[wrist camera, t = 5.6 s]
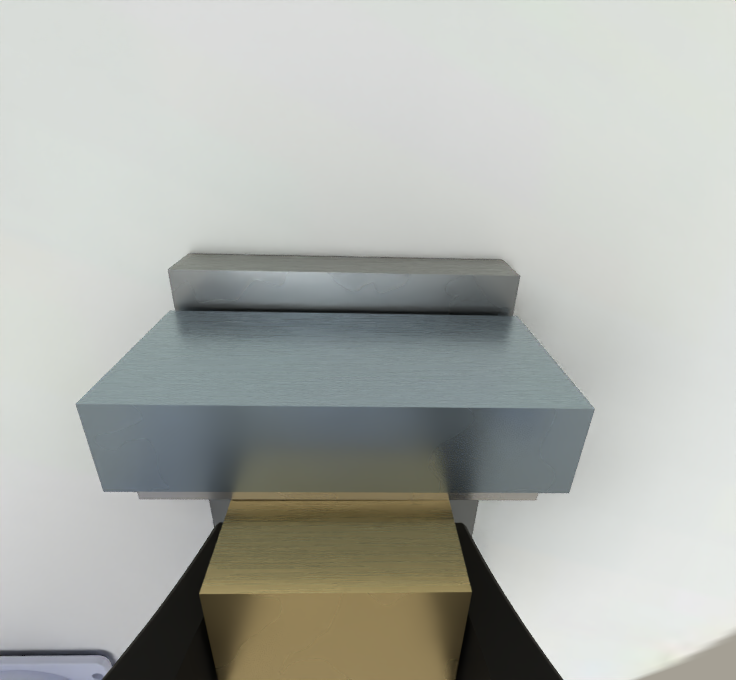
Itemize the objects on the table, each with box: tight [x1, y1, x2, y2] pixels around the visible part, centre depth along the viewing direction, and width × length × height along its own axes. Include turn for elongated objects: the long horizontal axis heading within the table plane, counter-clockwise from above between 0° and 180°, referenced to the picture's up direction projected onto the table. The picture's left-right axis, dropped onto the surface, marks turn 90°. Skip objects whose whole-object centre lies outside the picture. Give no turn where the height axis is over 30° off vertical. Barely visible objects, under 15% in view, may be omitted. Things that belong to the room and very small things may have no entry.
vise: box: [76, 254, 594, 537], centre depth 13 cm, size 16×9×6 cm, turn 178°
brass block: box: [199, 499, 472, 680], centre depth 10 cm, size 4×4×5 cm
